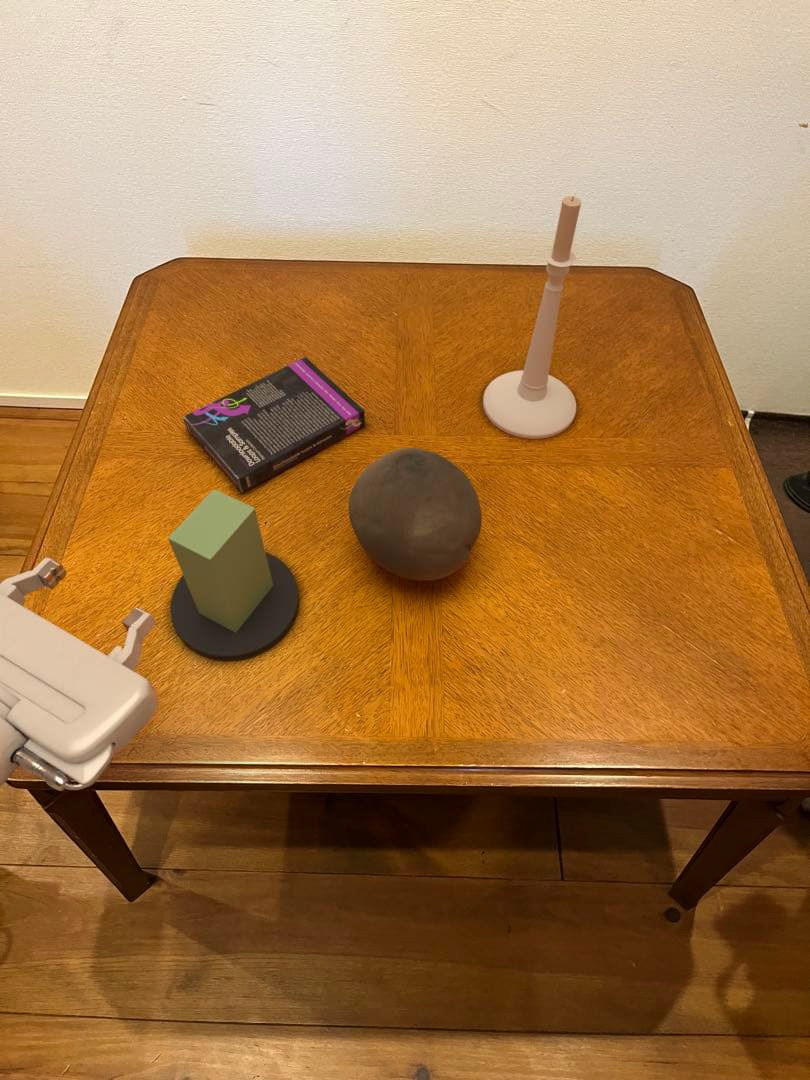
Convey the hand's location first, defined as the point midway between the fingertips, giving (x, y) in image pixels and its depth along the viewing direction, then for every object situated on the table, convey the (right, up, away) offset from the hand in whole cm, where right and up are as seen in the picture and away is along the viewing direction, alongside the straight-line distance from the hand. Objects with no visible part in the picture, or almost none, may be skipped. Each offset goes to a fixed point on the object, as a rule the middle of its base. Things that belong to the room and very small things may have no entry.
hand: (101, 589), depth 60 cm
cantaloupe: (+26, +2, +27) cm, 37 cm away
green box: (+6, -3, +21) cm, 23 cm away
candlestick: (+42, +23, +42) cm, 64 cm away
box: (+8, +19, +39) cm, 44 cm away
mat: (+6, -3, +22) cm, 23 cm away
